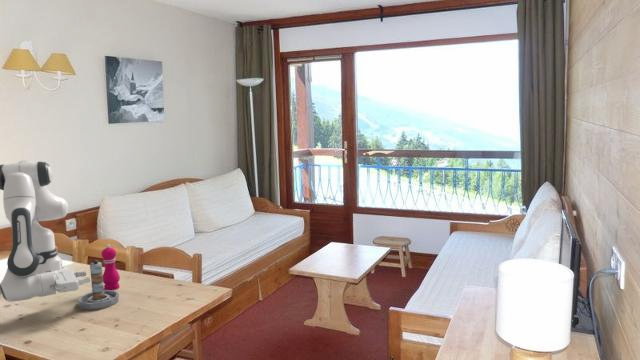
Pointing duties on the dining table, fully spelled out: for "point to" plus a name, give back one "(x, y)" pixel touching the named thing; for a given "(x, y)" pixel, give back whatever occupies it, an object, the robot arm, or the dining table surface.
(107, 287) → the pepper mill
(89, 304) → the tray
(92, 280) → the bead column
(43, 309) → the dining table surface
